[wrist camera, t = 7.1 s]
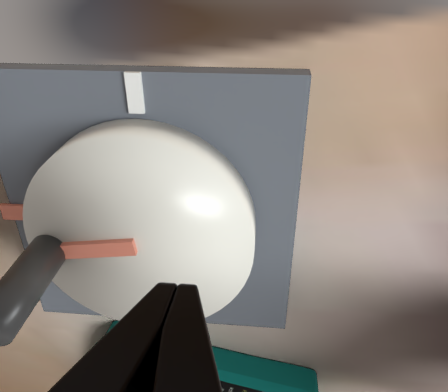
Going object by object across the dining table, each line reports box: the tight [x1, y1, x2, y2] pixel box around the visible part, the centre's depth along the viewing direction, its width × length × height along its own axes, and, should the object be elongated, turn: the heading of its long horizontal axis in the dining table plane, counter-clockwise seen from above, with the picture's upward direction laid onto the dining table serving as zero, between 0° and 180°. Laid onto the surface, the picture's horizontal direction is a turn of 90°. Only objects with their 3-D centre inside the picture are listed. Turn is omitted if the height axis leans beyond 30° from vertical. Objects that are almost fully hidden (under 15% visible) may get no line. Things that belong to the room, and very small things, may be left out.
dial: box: [0, 119, 256, 346], centre depth 18 cm, size 11×11×7 cm
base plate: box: [0, 63, 311, 329], centre depth 22 cm, size 16×15×1 cm
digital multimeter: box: [106, 321, 318, 392], centre depth 29 cm, size 7×15×3 cm, turn 76°
